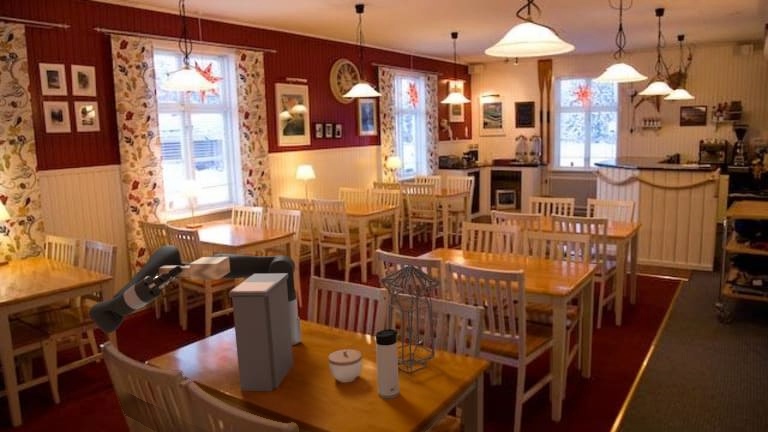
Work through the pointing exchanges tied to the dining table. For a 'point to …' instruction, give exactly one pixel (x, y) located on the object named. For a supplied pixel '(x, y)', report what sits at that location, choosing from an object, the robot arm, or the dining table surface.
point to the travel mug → (387, 363)
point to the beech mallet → (203, 268)
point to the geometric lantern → (408, 271)
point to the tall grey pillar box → (262, 331)
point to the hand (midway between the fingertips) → (183, 266)
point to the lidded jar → (345, 364)
